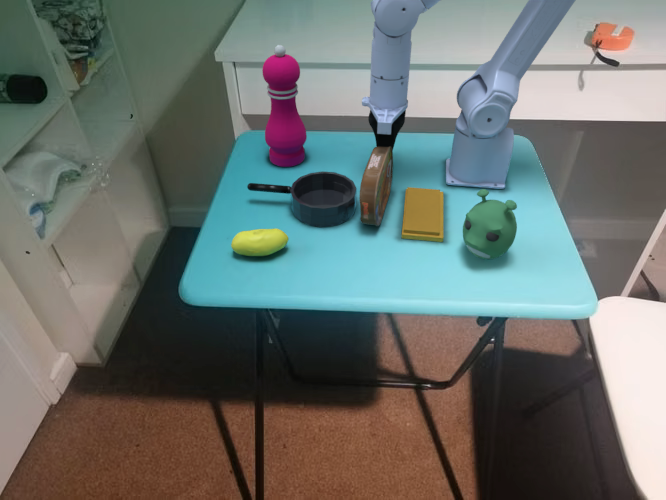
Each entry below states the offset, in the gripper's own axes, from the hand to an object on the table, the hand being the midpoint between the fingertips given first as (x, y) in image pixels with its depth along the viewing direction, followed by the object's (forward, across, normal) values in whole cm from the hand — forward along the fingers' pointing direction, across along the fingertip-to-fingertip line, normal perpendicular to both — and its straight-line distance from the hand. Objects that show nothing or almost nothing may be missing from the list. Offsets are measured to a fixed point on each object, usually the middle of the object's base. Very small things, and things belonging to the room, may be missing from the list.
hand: (384, 153), depth 89 cm
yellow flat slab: (+4, +11, +7) cm, 13 cm away
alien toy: (+5, +19, +15) cm, 25 cm away
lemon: (+5, +22, -16) cm, 28 cm away
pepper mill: (+5, -4, -18) cm, 18 cm away
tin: (+5, +9, 0) cm, 10 cm away
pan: (+4, +10, -9) cm, 14 cm away
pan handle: (+2, +10, -17) cm, 20 cm away
